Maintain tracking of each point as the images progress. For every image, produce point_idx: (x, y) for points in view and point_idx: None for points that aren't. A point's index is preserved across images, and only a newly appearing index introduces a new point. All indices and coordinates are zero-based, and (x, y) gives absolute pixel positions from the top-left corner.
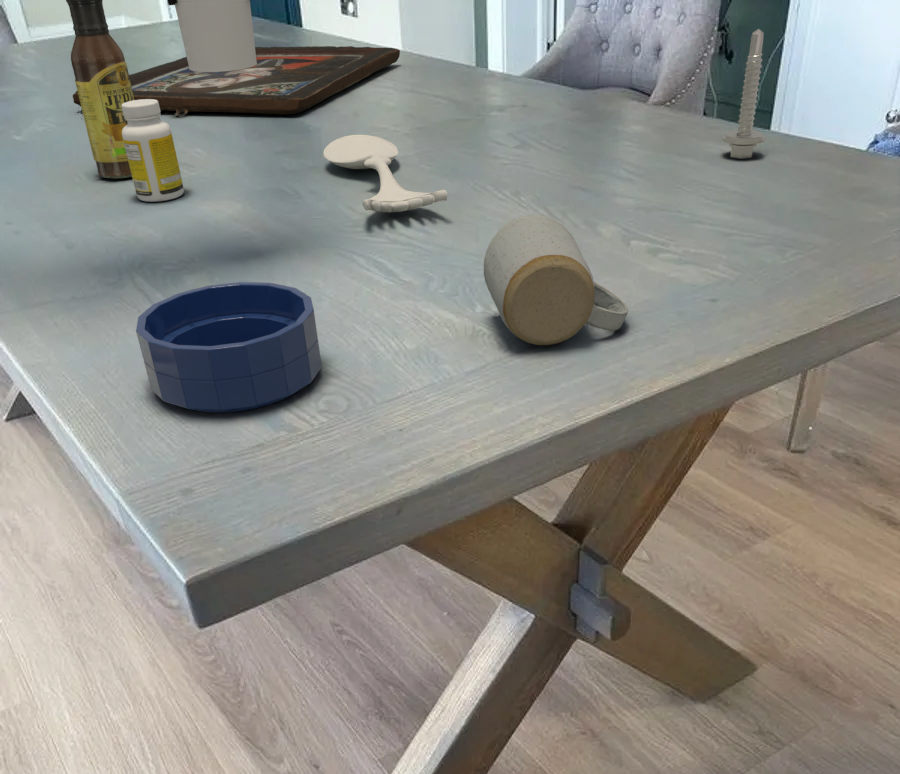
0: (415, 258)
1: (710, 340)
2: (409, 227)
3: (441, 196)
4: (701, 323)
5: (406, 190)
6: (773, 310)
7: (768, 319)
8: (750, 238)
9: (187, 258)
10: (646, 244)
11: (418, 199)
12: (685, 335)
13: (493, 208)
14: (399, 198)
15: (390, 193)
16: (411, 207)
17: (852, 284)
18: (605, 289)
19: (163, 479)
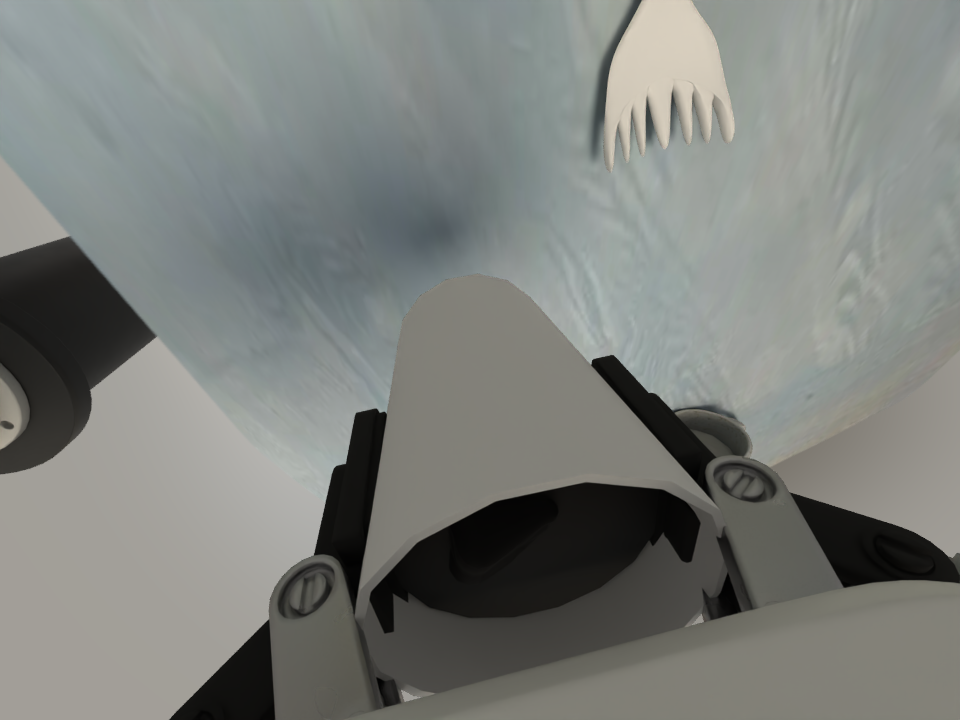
0: (629, 274)
1: (765, 451)
2: (649, 143)
3: (722, 129)
4: (776, 429)
5: (690, 4)
6: (830, 413)
7: (816, 425)
8: (945, 262)
9: (346, 230)
10: (855, 265)
11: (688, 127)
12: (756, 445)
13: (789, 63)
14: (667, 43)
15: (660, 15)
16: (673, 94)
17: (910, 375)
18: (742, 427)
19: None
